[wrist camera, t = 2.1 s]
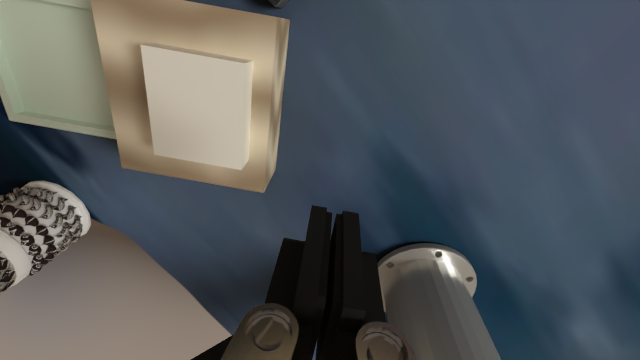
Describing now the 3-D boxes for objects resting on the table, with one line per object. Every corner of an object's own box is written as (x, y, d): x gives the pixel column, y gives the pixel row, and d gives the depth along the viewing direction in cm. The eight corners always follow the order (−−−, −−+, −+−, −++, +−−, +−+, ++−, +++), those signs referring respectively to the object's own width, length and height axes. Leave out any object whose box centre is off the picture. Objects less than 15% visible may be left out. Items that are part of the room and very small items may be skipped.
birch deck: (275, 169, 30) (263, 192, 26) (154, 147, 30) (121, 167, 26) (289, 19, 24) (277, 17, 19) (135, -9, 24) (87, -17, 19)
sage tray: (148, 138, 30) (138, 143, 28) (25, 116, 30) (9, 120, 28) (131, 4, 24) (117, 3, 23) (-22, -23, 24) (-44, -26, 23)
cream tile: (248, 160, 24) (241, 170, 23) (168, 145, 24) (154, 154, 23) (253, 60, 21) (244, 63, 19) (157, 43, 21) (140, 44, 19)
